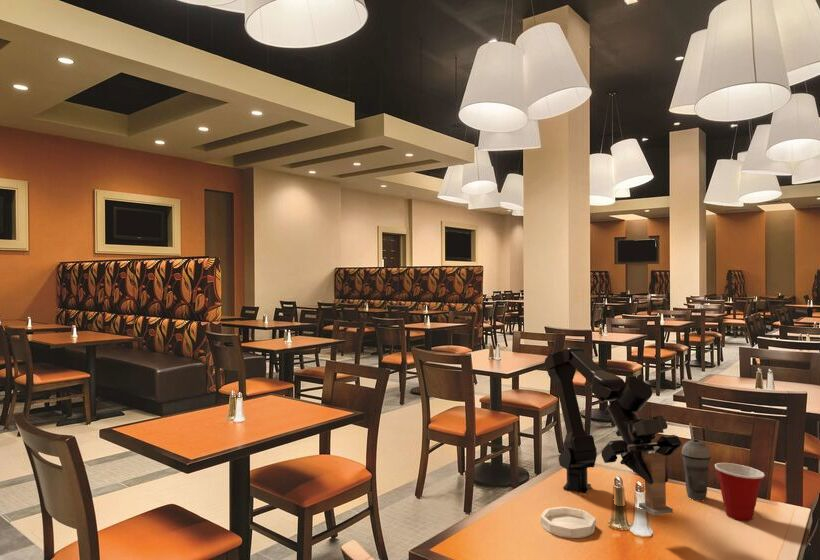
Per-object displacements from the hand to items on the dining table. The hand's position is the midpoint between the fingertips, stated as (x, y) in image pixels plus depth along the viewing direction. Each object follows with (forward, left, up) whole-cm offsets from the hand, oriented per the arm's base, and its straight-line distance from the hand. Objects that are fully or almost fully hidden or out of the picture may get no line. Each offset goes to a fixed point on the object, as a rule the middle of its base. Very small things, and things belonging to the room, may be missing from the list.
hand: (659, 482), depth 124 cm
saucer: (+2, -20, -13) cm, 24 cm away
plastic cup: (-24, +16, -14) cm, 32 cm away
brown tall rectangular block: (-1, -1, -7) cm, 7 cm away
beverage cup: (-32, +6, -14) cm, 36 cm away
